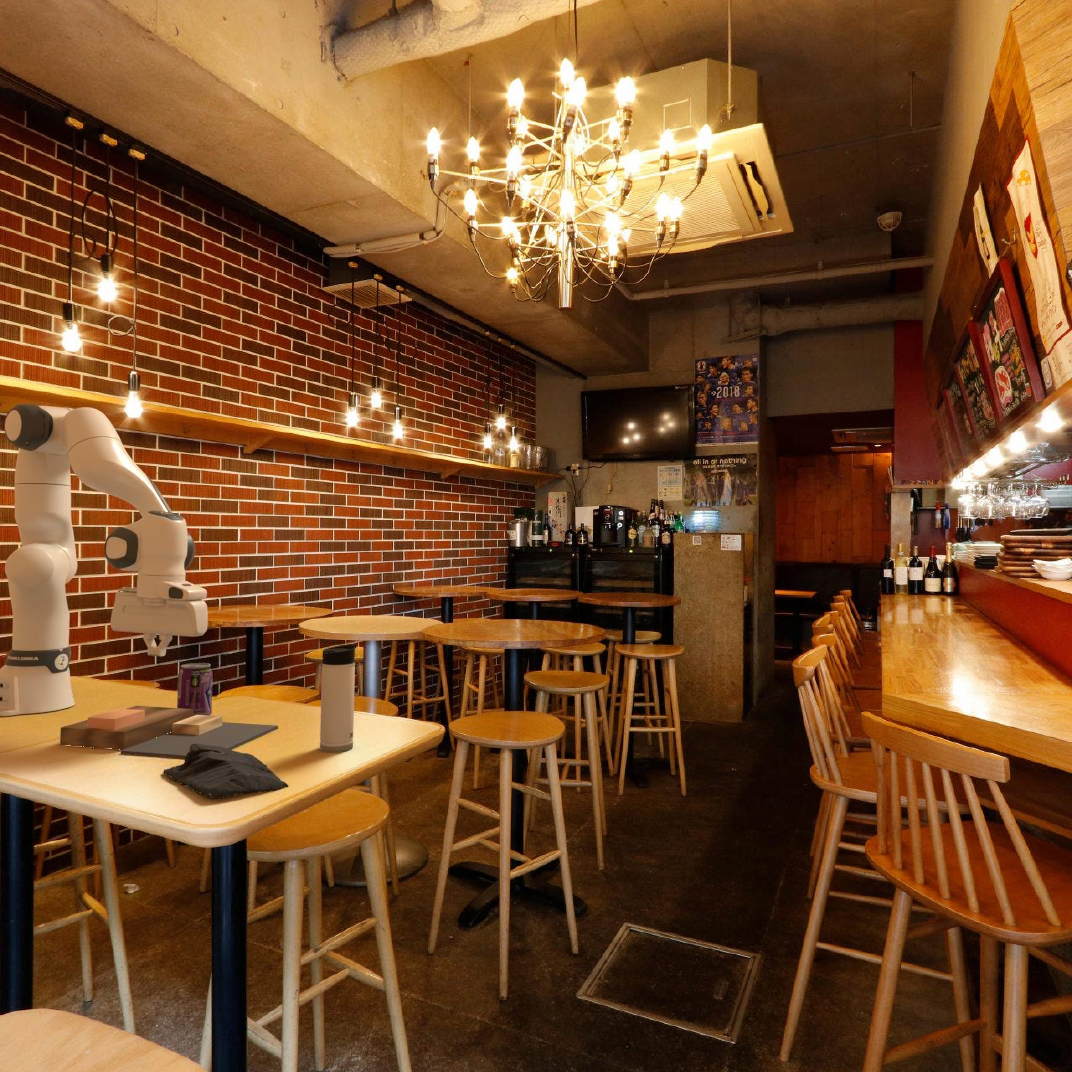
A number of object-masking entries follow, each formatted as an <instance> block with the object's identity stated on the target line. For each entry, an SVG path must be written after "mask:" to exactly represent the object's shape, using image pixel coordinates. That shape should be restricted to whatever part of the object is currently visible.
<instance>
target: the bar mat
mask: <svg viewBox="0 0 1072 1072" xmlns="http://www.w3.org/2000/svg"><path fill="white" fill-rule="evenodd" d="M278 729H279V725H274V724H261V723H260V724H259V723H244V722H243V723H241V722H227V721H222V726H220V727H218V728H215V729H213V730H210V731H208V732H205V733H203V734H200V735H190V734H174V733H172V732H171V733H168V734H165V735H162V736H160V737H157V738H154V739H151V740H149V741H146V742H143V743H140V744H138V745H135V746H132V747H129V748H127V749H124V750H120V754H121V755H129V754H131V756H142V757H143V756H145V757H146V756H147V757H157V758H170V759H171V758H172V759H183V760H185V758H186V757H187V756H186V755H187V754H188V752H189V750H190V746H191V745H192V744H203V745H210V746H219V747H223V748H227V749H230V750H232V751H233V750H234V749H236V748H238V747H240V746H243V745H245V744H247V743H249V742H252V741H253V740H256V739H258V738H260V737H262V735H263V736H264V735H267V734H268V732H269V733H271V732H274V731H276V730H278Z"/></svg>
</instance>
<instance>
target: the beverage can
mask: <svg viewBox="0 0 1072 1072" xmlns="http://www.w3.org/2000/svg"><path fill="white" fill-rule="evenodd" d="M177 673H178V674H177V696H176V698H177V701H176V702H177V703H176V704H177V705H176V708H182V709H193V716H195V715H210V716H212V712H213V708H212V705H213V673H214V672H213V670H212V668H211V663H209V662H208V663H205V662H194V663H193V662H192V663H186V664H182V665H180V670H179V672H177Z"/></svg>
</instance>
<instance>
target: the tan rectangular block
mask: <svg viewBox="0 0 1072 1072" xmlns="http://www.w3.org/2000/svg"><path fill="white" fill-rule="evenodd" d="M222 722H223V716H222V715H195V716H192V717H189V718H187V719H184V720H181V721H178V722H176V723H173V725H172V733H174V734H190V735H200V734H203V733H205V732H208V731H210V730H213V729H215V728H218V727H220V726H222Z"/></svg>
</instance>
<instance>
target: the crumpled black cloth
mask: <svg viewBox="0 0 1072 1072" xmlns="http://www.w3.org/2000/svg"><path fill="white" fill-rule="evenodd" d="M186 756H187V757H186V758H185V759H184V763H182V764H180V765H176V766H175V765H174V766H171V767H170V768H166V769H164V770H163V774H165V776H166V777H167V776H168V777H170V778H171V779H172V780H173V781H175V782H177V783H178V784H179V785H181V786H187V787H188V788H189V789H191V790H193V791H194V792H197V793H199V794H201V795H202V796H205V797H207V798H212V799H222V798H225V797H233V796H237V795H238V796H239V795H249V794H250V795H251V794H258V793H266V792H267V793H268V792H273V791H279V790H281V789H284V788H288V787H289V784H288V783H286V782H285V781H283V780H281V778H280V777H279V776H277V774H275V773H274V771H272V770H271V769H270V768H269V767H268V766H267V765H266V764H265V763H263V762H262V761H261V760H260V759H258V757H256V756H254V754H251V753H247V752H240V751H236V750H233V749H232V750H230V749H227V748H223V747H219V746H210V745H203V744H192V745H191V746H190V750H189V752H188V754H187V755H186Z"/></svg>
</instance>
